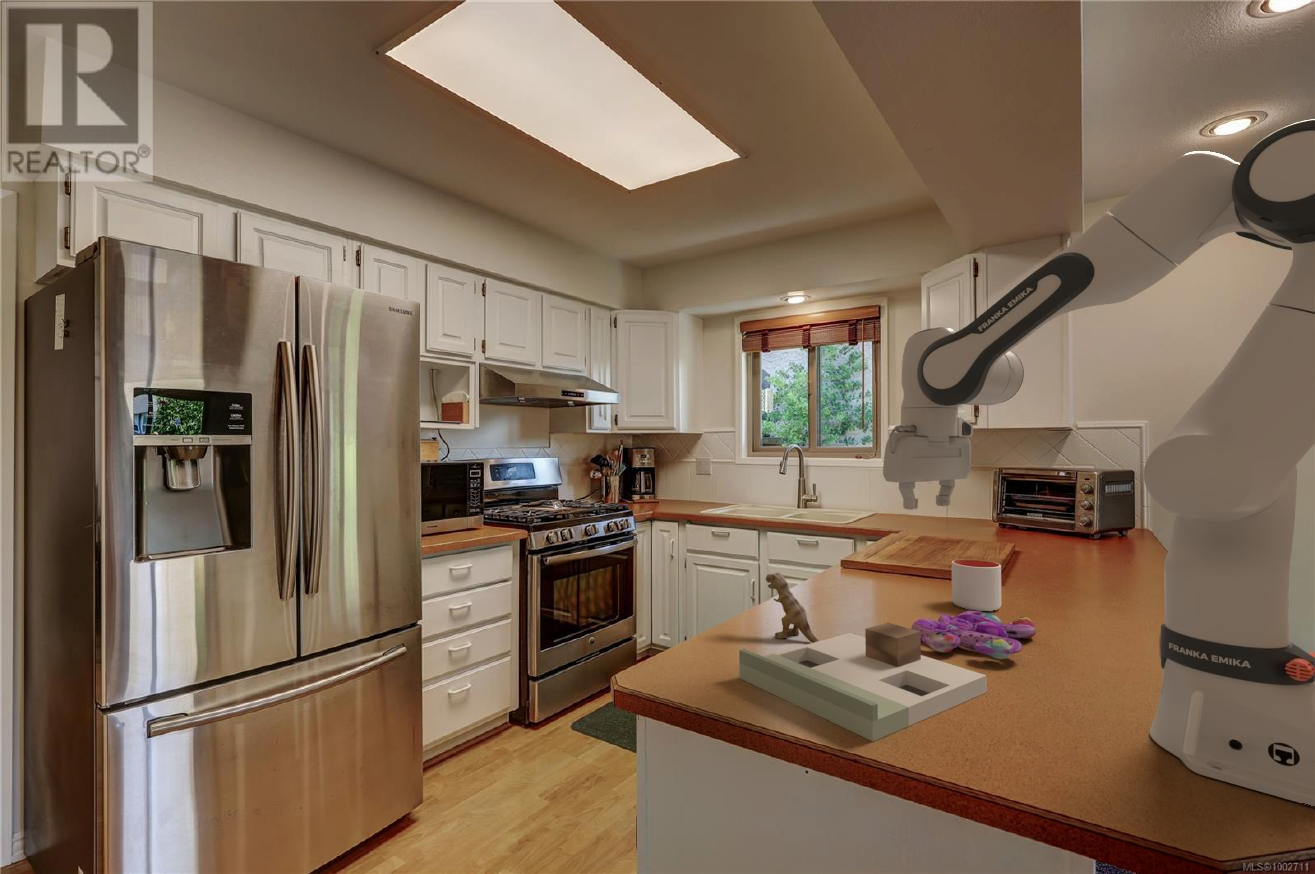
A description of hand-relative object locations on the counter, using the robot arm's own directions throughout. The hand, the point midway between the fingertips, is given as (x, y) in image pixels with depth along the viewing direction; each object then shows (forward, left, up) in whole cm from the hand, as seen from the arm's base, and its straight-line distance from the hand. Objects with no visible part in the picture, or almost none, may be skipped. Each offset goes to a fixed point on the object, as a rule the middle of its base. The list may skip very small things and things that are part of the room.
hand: (927, 507), depth 103 cm
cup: (+15, -43, -27) cm, 52 cm away
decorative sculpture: (+2, -18, -27) cm, 33 cm away
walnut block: (+1, +8, -24) cm, 25 cm away
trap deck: (+1, +17, -27) cm, 31 cm away
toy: (+22, +8, -27) cm, 35 cm away
